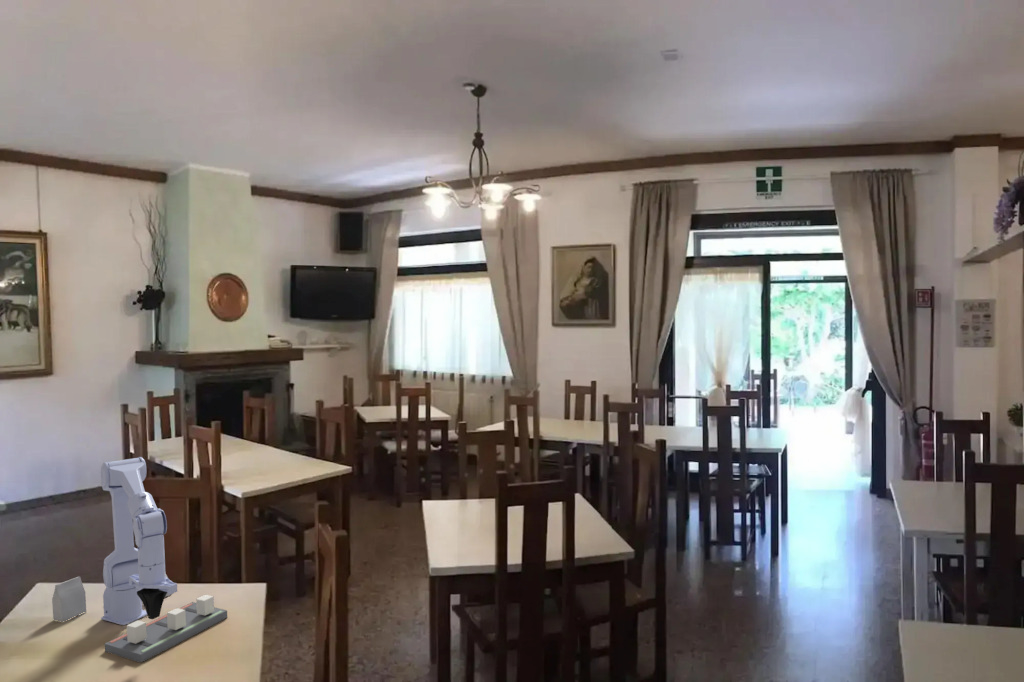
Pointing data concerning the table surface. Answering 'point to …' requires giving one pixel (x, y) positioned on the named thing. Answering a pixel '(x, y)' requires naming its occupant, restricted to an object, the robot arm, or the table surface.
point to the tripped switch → (136, 631)
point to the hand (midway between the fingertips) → (154, 617)
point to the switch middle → (176, 618)
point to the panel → (164, 634)
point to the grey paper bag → (68, 599)
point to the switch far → (205, 604)
